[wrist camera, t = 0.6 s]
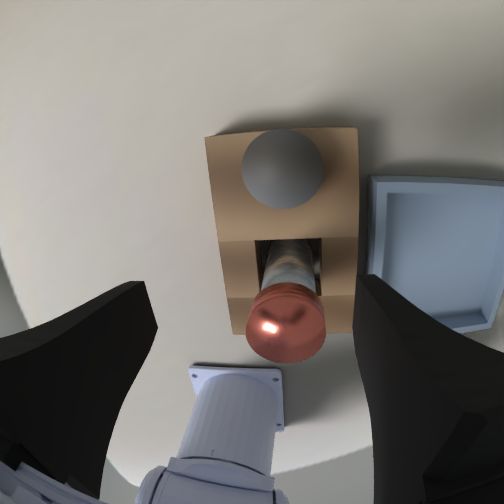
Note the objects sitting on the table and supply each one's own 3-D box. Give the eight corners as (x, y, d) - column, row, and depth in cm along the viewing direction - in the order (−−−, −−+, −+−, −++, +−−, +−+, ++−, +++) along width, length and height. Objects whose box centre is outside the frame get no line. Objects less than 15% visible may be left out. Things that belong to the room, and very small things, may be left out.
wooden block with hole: (347, 315, 21) (353, 344, 18) (237, 317, 22) (229, 345, 20) (350, 125, 16) (362, 126, 13) (213, 133, 17) (197, 137, 14)
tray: (480, 314, 20) (490, 328, 18) (359, 326, 21) (364, 343, 20) (507, 181, 15) (523, 188, 14) (368, 175, 17) (376, 182, 15)
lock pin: (316, 277, 20) (324, 362, 13) (266, 278, 21) (249, 362, 14) (316, 228, 19) (327, 300, 12) (261, 231, 19) (241, 301, 12)
